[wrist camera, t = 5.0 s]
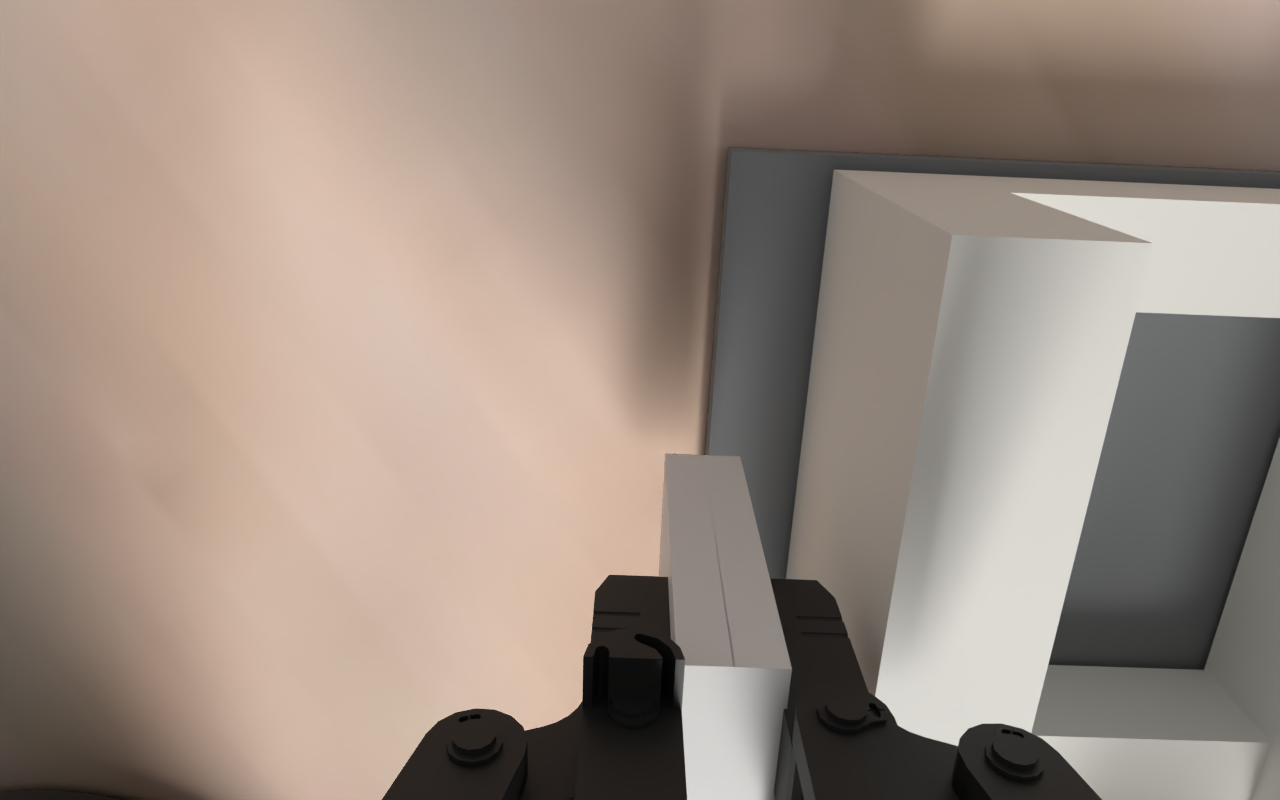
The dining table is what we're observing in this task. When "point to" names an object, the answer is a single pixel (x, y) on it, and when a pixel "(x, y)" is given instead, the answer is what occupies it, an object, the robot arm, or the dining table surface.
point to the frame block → (1023, 461)
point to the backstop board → (1135, 438)
